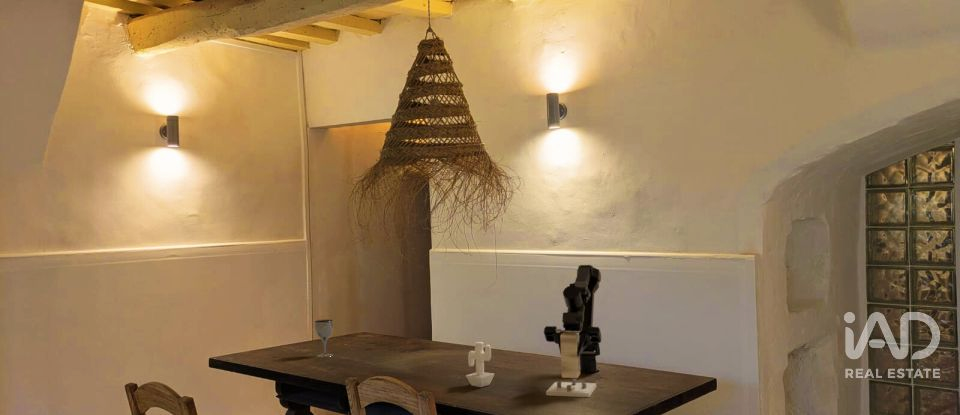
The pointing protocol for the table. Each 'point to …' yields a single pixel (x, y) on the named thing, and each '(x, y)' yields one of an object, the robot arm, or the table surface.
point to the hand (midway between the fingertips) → (569, 355)
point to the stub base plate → (571, 389)
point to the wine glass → (324, 333)
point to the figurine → (479, 365)
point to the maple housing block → (570, 355)
